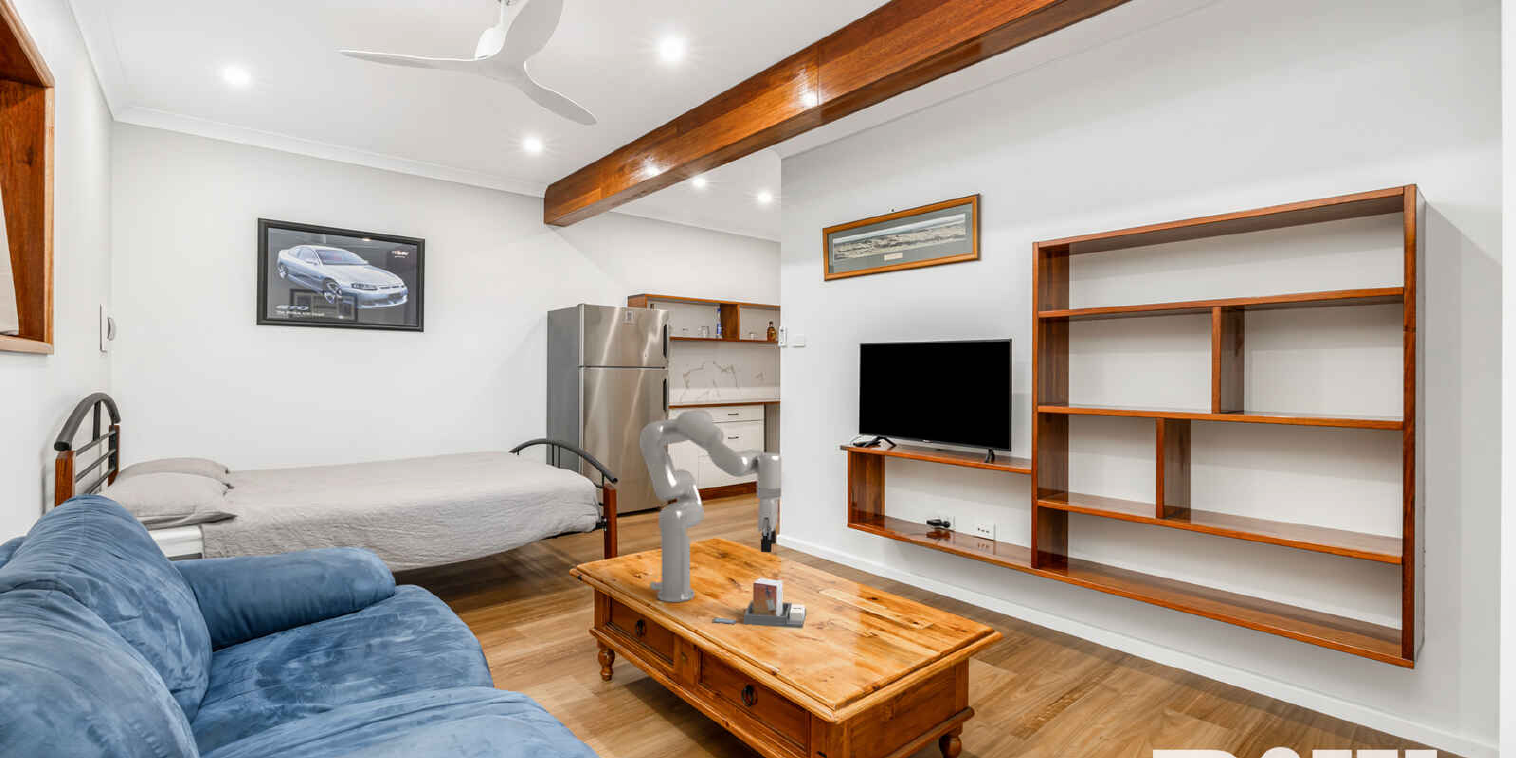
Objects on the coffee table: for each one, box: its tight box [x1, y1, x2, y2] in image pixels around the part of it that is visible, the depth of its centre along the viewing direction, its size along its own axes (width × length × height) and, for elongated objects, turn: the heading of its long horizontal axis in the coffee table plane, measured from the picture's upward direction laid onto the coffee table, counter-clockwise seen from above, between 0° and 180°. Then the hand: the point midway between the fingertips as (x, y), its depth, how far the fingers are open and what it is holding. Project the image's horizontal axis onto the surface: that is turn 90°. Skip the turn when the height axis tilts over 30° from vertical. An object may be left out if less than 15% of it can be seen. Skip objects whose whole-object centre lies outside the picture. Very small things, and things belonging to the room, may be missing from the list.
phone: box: [711, 617, 738, 626], centre depth 207 cm, size 7×3×1 cm, turn 76°
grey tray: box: [742, 600, 807, 629], centre depth 210 cm, size 18×13×4 cm
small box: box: [752, 577, 784, 616], centre depth 210 cm, size 8×6×10 cm
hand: (768, 547), depth 210 cm, fingers open, 9 cm apart
